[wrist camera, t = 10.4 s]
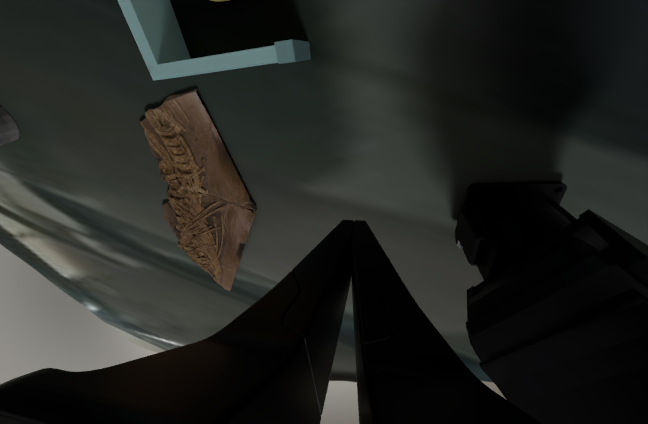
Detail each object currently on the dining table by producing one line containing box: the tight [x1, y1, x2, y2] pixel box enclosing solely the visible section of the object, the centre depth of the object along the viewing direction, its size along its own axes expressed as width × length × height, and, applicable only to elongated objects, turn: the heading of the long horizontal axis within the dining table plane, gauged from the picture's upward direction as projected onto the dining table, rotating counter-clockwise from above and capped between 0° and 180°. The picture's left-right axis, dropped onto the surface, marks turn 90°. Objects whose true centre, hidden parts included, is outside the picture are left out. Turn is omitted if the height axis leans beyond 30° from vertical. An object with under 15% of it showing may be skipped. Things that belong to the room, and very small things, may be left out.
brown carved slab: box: [140, 88, 257, 291], centre depth 26 cm, size 26×11×1 cm, turn 171°
